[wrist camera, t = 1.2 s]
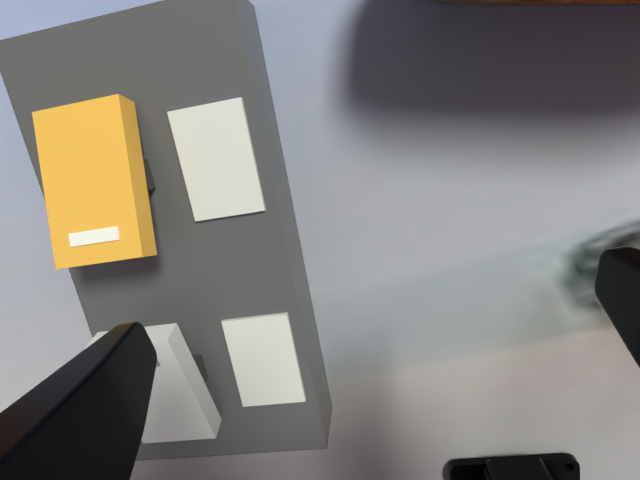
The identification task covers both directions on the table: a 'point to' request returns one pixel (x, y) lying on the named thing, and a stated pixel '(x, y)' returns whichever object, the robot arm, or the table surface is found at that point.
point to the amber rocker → (94, 182)
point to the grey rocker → (176, 391)
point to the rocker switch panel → (196, 210)
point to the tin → (539, 2)
